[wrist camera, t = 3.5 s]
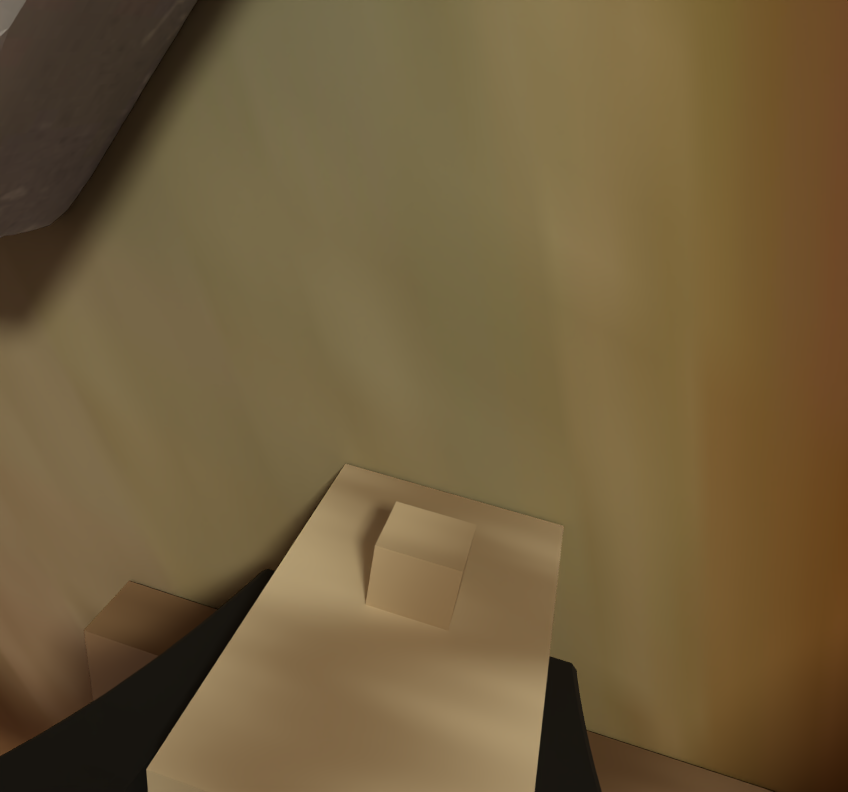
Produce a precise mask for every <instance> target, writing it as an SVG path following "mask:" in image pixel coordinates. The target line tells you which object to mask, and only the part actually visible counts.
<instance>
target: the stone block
mask: <svg viewBox="0 0 848 792" xmlns="http://www.w3.org/2000/svg"><path fill="white" fill-rule="evenodd" d="M196 2H197V0H0V238H1V237H3V236H5V235H15V234H18V233H23V232H29V231H32V230H35V229H38V228H42V227H45V226H48V225H50V224H52V223H53V222H54V221H55V220H56V219H57V218H59V217H60V216H61V215H62V214H63V213H64V212H66V211H67V209H68V208H69V207H70V205H71V204H72V203H73V201H74V200H75V199H76V197H77V196H78V195H79V193H80V192H81V190H82V188H83V187H84V185H85V184H86V183H87V182H88V180H89V179H90V177H91V176H92V174H93V172H94V171H95V169H96V167H97V166H98V164H99V162H100V161H101V159H102V157H103V156H104V154H105V152H106V151H107V149H108V147H109V146H110V144H111V142H112V141H113V139H114V138H115V136H116V135H117V133H118V131H119V129H120V127H121V125H122V123H123V122H124V121H125V119H126V118H127V116H128V115H129V113H130V111H131V110H132V108H133V106H134V104H135V102H136V101H137V99H138V97H139V95H140V94H141V92H142V90H143V89H144V87H145V85H146V84H147V82H148V80H149V79H150V77H151V75H152V74H153V72H154V71H155V69H156V67H157V66H158V64H159V62H160V61H161V59H162V58H163V56H164V54H165V53H166V51H167V49H168V48H169V46H170V45H171V43H172V42H173V40H174V39H175V37H176V35H177V34H178V32H179V30H180V28H181V27H182V25H183V23H184V21H185V20H186V18H187V17H188V15H189V13H190V12H191V10H192V8H193V7H194V5H195V3H196Z"/></svg>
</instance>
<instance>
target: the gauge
mask: <svg viewBox="0 0 848 792" xmlns="http://www.w3.org/2000/svg"><path fill="white" fill-rule="evenodd" d="M563 528H564V526H562V525H559V524H555V523H552V522H548V521H545V520H541V519H538V518H534V517H531V516H527V515H524V514H520V513H517V512H513V511H510V510H506V509H503V508H499V507H496V506H492V505H489V504H485V503H482V502H478V501H475V500H471V499H468V498H464V497H461V496H457V495H454V494H450V493H447V492H443V491H440V490H436V489H432V488H429V487H425V486H422V485H418V484H415V483H411V482H408V481H404V480H401V479H397V478H394V477H390V476H387V475H383V474H380V473H376V472H373V471H369V470H366V469H362V468H359V467H355V466H352V465H348V464H345V465H344V467H343V468H342V470H341V471H340V473H339V474H338V476H337V477H336V479H335V480H334V482H333V484H332V485H331V487H330V488H329V490H328V491H327V493H326V494H325V496H324V497H323V499H322V500H321V502H320V504H319V505H318V507H317V508H316V510H315V511H314V513H313V514H312V516H311V517H310V519H309V520H308V522H307V523H306V525H305V527H304V528H303V530H302V531H301V533H300V534H299V536H298V537H297V539H296V540H295V542H294V543H293V545H292V546H291V548H290V550H289V551H288V553H287V554H286V556H285V557H284V559H283V560H282V562H281V563H280V565H279V566H278V568H277V569H276V571H275V573H274V574H273V576H272V577H271V579H270V580H269V582H268V583H267V585H266V586H265V588H264V589H263V591H262V592H261V594H260V596H259V597H258V599H257V600H256V602H255V603H254V605H253V606H252V608H251V609H250V611H249V612H248V614H247V616H246V617H245V619H244V620H243V622H242V623H241V625H240V626H239V628H238V629H237V631H236V632H235V634H234V635H233V637H232V639H231V640H230V642H229V643H228V645H227V646H226V648H225V649H224V651H223V652H222V654H221V655H220V657H219V658H218V660H217V662H216V663H215V665H214V666H213V668H212V669H211V671H210V672H209V674H208V675H207V677H206V678H205V680H204V681H203V683H202V685H201V686H200V688H199V689H198V691H197V692H196V694H195V695H194V697H193V698H192V700H191V701H190V703H189V705H188V706H187V708H186V709H185V711H184V712H183V714H182V715H181V717H180V718H179V720H178V721H177V723H176V724H175V726H174V728H173V729H172V731H171V732H170V734H169V735H168V737H167V738H166V740H165V741H164V743H163V744H162V746H161V747H160V749H159V751H158V752H157V754H156V755H155V757H154V758H153V760H152V761H151V763H150V764H149V766H148V767H147V769H146V771H147V785H148V792H535V783H536V774H537V765H538V756H539V746H540V737H541V728H542V719H543V710H544V701H545V692H546V683H547V674H548V665H549V655H550V646H551V637H552V628H553V619H554V610H555V601H556V592H557V583H558V574H559V564H560V555H561V546H562V537H563Z"/></svg>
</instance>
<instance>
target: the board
mask: <svg viewBox="0 0 848 792" xmlns="http://www.w3.org/2000/svg"><path fill="white" fill-rule="evenodd" d="M215 611H217V609H214V608H211V607H207V606H204V605H201V604H198V603H195V602H192V601H189V600H186V599H183V598H180V597H177V596H174V595H171V594H168V593H165V592H162V591H159V590H155V589H152V588H149V587H146V586H143V585H140V584H137V583H134V582H131V581H129V582H128V583H127V584H126V585H125V586H124V587H123V588H122V589H121V590H120V591H119V592H118V594H117V595H116V596H115V597H114V598H113V599H112V600H111V601H110V602H109V603H108V604H107V606H106V607H105V608H104V609H103V610H102V611H101V612H100V613H99V614H98V615H97V617H96V618H95V619H94V620H93V621H92V622H91V623H90V624H89V625H88V626H87V627H86V629H85V630H84V636H85V643H86V651H87V659H88V667H89V674H90V682H91V690H92V698H93V701H94V700H96V699H97V698H99V697H100V696H102V695H103V694H105V693H106V692H108V691H109V690H111V689H112V688H114V687H115V686H117V685H118V684H119V683H121V682H122V681H124V680H125V679H127V678H128V677H129V676H131V675H132V674H134V673H135V672H137V671H138V670H139V669H141V668H142V667H144V666H145V665H146V664H148V663H149V662H151V661H152V660H154V659H155V658H156V657H158V656H159V655H160V654H162V653H163V652H164V651H166V650H167V649H168V648H170V647H171V646H172V645H173V644H175V643H176V642H177V641H179V640H180V639H181V638H183V637H184V636H185V635H186V634H188V633H189V632H190V631H192V630H193V629H194V628H195V627H197V626H198V625H199V624H201V623H202V622H203V621H204V620H206V619H207V618H208V617H209V616H210V615H212V614H213V613H214V612H215ZM587 735H588V739H589V744H590V748H591V752H592V756H593V761H594V765H595V769H596V772H597V776H598V780H599V783H600V787H601V791H602V792H773V791H770V790H767V789H764V788H761V787H758V786H755V785H752V784H749V783H746V782H743V781H740V780H736V779H733V778H730V777H727V776H724V775H721V774H718V773H715V772H712V771H709V770H706V769H703V768H700V767H697V766H694V765H691V764H688V763H685V762H681V761H678V760H675V759H672V758H669V757H666V756H663V755H660V754H657V753H654V752H651V751H648V750H645V749H642V748H639V747H636V746H633V745H629V744H626V743H623V742H620V741H617V740H614V739H611V738H608V737H605V736H602V735H599V734H596V733H593V732H590V731H587Z"/></svg>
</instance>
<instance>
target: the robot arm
mask: <svg viewBox="0 0 848 792" xmlns="http://www.w3.org/2000/svg"><path fill="white" fill-rule="evenodd" d="M274 573H275V571H273V570H270V569H267V570H264V571H262V572H261V573H260V574H259V575H257V576H256V577H255V578H254V579H253V580H252V581H251V582H250V583H248V584H247V585H246V586H245V587H244V588H243V589H241V590H240V591H239V592H238V593H237V594H236V595H234V596H233V597H232V598H231V599H230V600H229V601H227V602H226V603H225V604H224V605H223V606H221V607H220V608H219V609H218V610H217V611H215V612H214V613H213V614H212V615H210V616H209V617H208V618H207V619H206V620H204V621H203V622H202V623H201V624H199V625H198V626H197V627H195V628H194V629H193V630H192V631H190V632H189V633H188V634H186V635H185V636H184V637H183V638H181V639H180V640H179V641H177V642H176V643H175V644H173V645H172V646H171V647H170V648H168V649H167V650H166V651H164V652H163V653H162V654H160V655H159V656H158V657H156V658H155V659H154V660H152V661H151V662H149V663H148V664H146V665H145V666H144V667H142V668H141V669H139V670H138V671H137V672H135V673H134V674H132V675H131V676H129V677H128V678H127V679H125V680H124V681H122V682H121V683H119V684H118V685H117V686H115V687H114V688H112V689H111V690H109V691H108V692H106V693H105V694H103V695H102V696H100V697H99V698H97V699H96V700H94V701H93V702H91V703H90V704H88V705H87V706H85V707H83V708H82V709H80V710H79V711H77V712H75V713H74V714H72V715H71V716H69V717H67V718H66V719H64V720H62V721H61V722H59V723H57V724H56V725H54V726H53V727H51V728H49V729H48V730H46V731H44V732H43V733H41V734H39V735H37V736H36V737H34V738H32V739H30V740H28V741H27V742H25V743H23V744H21V745H19V746H18V747H16V748H14V749H12V750H11V751H9V752H7V753H5V754H3V755H2V756H0V792H148V785H147V771H146V769H147V767H148V766H149V764H150V763H151V761H152V760H153V758H154V757H155V755H156V754H157V752H158V751H159V749H160V747H161V746H162V744H163V743H164V741H165V740H166V738H167V737H168V735H169V734H170V732H171V731H172V729H173V728H174V726H175V724H176V723H177V721H178V720H179V718H180V717H181V715H182V714H183V712H184V711H185V709H186V708H187V706H188V705H189V703H190V701H191V700H192V698H193V697H194V695H195V694H196V692H197V691H198V689H199V688H200V686H201V685H202V683H203V681H204V680H205V678H206V677H207V675H208V674H209V672H210V671H211V669H212V668H213V666H214V665H215V663H216V662H217V660H218V658H219V657H220V655H221V654H222V652H223V651H224V649H225V648H226V646H227V645H228V643H229V642H230V640H231V639H232V637H233V635H234V634H235V632H236V631H237V629H238V628H239V626H240V625H241V623H242V622H243V620H244V619H245V617H246V616H247V614H248V612H249V611H250V609H251V608H252V606H253V605H254V603H255V602H256V600H257V599H258V597H259V596H260V594H261V592H262V591H263V589H264V588H265V586H266V585H267V583H268V582H269V580H270V579H271V577H272V576H273V574H274ZM535 792H602V791H601V787H600V783H599V780H598V776H597V772H596V769H595V765H594V761H593V756H592V752H591V748H590V744H589V739H588V735H587V730H586V726H585V721H584V716H583V711H582V705H581V700H580V693H579V687H578V680H577V671H576V669H575V667H574V666H573V664H572V663H569V662H566V661H563V660H560V659H556V658H553V657H550V656H549V665H548V674H547V683H546V692H545V701H544V710H543V719H542V728H541V737H540V746H539V756H538V765H537V774H536V783H535Z"/></svg>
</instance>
